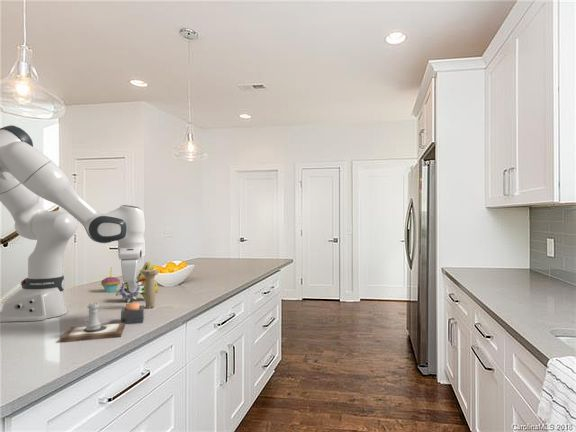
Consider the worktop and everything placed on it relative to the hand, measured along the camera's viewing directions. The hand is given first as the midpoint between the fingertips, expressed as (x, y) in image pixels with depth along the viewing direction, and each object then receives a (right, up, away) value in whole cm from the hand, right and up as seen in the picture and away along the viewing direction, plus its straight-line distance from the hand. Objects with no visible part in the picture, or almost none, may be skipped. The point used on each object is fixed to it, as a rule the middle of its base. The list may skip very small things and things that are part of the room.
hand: (132, 290), depth 132 cm
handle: (-1, -11, +21) cm, 24 cm away
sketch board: (-6, -11, -14) cm, 19 cm away
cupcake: (-34, -12, +56) cm, 66 cm away
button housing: (0, -11, 0) cm, 11 cm away
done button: (0, -8, 0) cm, 8 cm away
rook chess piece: (-6, -9, -14) cm, 18 cm away
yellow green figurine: (-15, -12, +52) cm, 56 cm away
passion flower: (-14, -11, +35) cm, 39 cm away
